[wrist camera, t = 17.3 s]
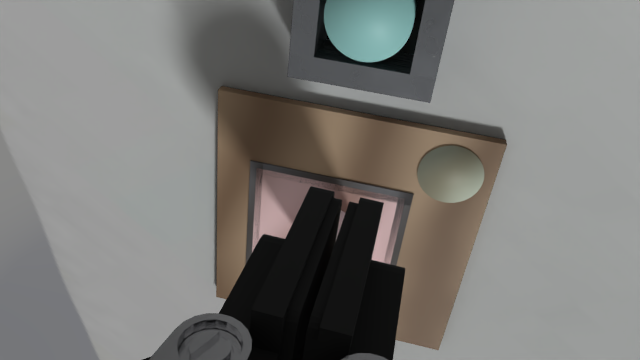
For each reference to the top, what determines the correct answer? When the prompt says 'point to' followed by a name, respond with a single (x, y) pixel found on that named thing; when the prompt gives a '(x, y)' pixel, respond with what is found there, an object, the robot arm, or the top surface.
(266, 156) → the picture board
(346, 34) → the button
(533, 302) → the top surface
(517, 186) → the top surface
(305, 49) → the button housing
